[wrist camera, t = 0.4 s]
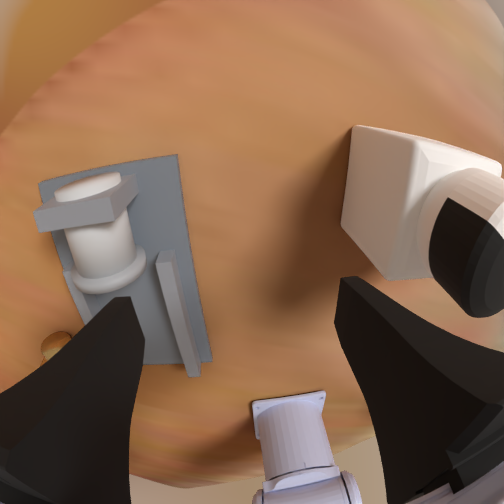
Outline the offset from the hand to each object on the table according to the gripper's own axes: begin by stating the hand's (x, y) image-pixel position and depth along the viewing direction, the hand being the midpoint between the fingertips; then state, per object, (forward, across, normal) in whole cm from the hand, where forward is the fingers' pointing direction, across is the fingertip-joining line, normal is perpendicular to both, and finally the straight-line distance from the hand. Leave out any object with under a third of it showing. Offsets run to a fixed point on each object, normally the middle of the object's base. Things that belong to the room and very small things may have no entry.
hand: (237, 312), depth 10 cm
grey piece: (+10, +8, +5) cm, 13 cm away
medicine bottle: (+10, -11, -2) cm, 15 cm away
